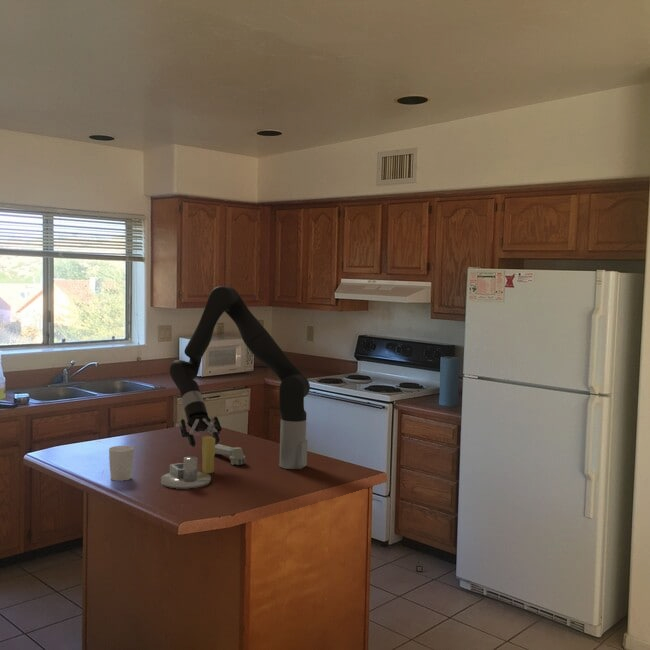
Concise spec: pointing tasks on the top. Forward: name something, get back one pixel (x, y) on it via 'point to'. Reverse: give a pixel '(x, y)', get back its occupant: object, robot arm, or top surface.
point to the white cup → (121, 462)
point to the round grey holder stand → (185, 475)
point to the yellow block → (208, 454)
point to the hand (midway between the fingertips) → (205, 444)
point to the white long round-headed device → (231, 453)
